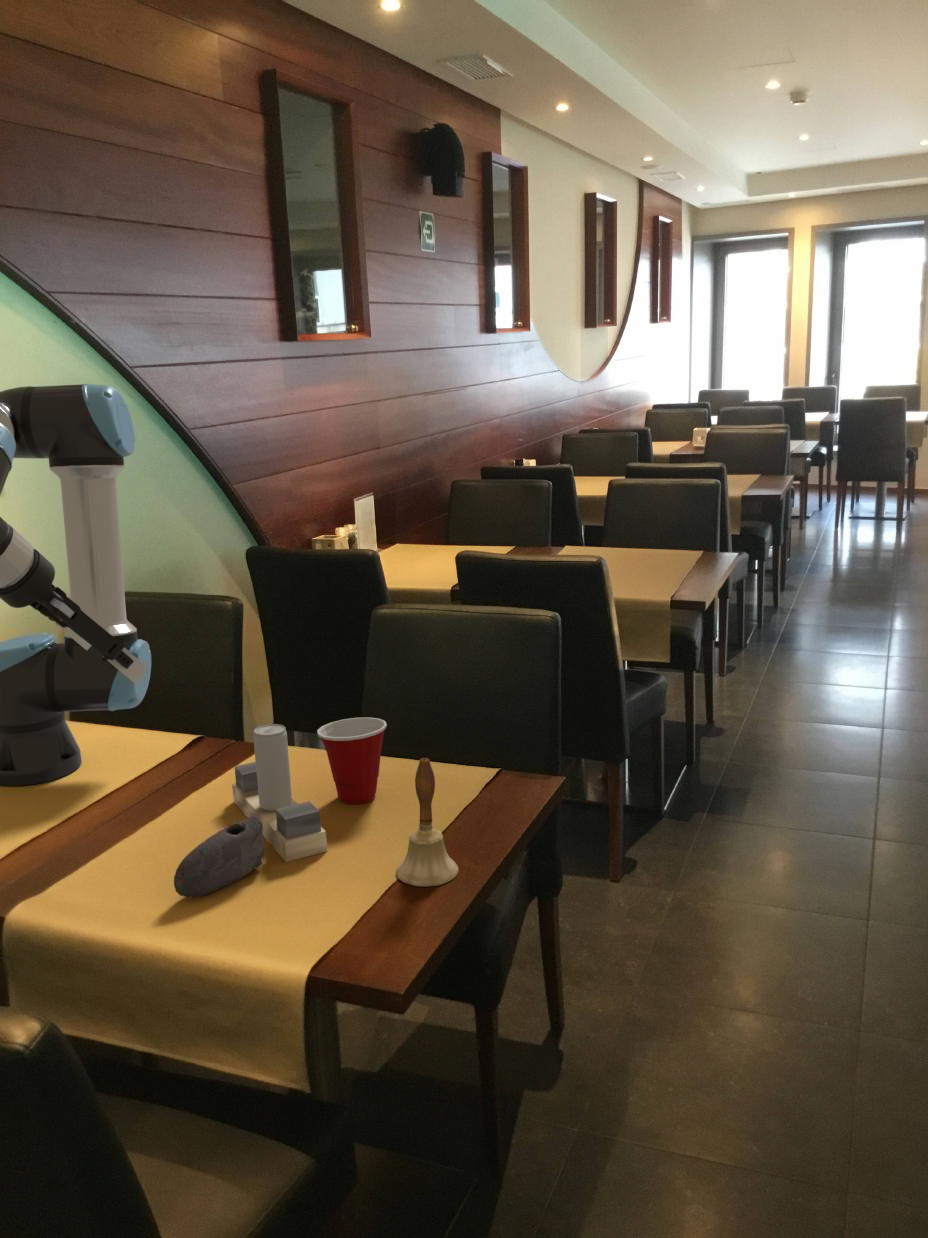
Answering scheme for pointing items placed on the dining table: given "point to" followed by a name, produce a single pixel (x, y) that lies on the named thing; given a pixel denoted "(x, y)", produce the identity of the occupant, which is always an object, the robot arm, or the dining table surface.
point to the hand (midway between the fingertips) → (115, 658)
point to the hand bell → (426, 840)
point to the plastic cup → (354, 756)
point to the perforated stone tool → (221, 859)
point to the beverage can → (272, 767)
